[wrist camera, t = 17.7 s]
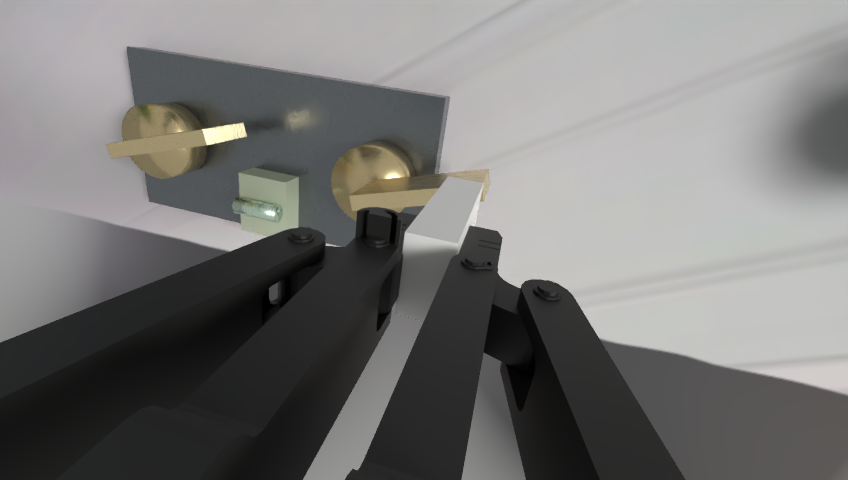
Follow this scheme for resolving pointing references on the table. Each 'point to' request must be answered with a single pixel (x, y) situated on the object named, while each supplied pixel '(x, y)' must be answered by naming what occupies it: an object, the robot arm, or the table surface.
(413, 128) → the level plate
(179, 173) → the far knob
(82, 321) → the robot arm
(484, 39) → the table surface
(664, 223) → the table surface
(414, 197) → the near knob
